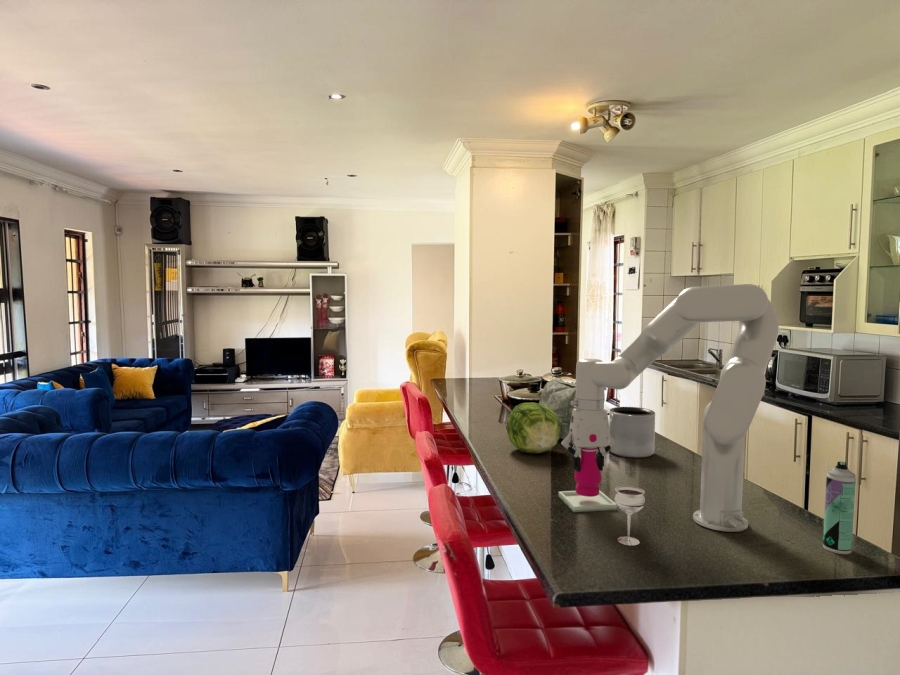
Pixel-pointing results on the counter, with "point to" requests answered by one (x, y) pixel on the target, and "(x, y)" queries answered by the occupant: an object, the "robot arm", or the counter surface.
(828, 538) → the spray can
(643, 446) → the planter
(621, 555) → the counter surface
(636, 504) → the wineglass
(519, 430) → the lettuce
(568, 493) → the tray
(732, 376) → the robot arm
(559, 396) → the lunch bag
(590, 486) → the pepper mill
